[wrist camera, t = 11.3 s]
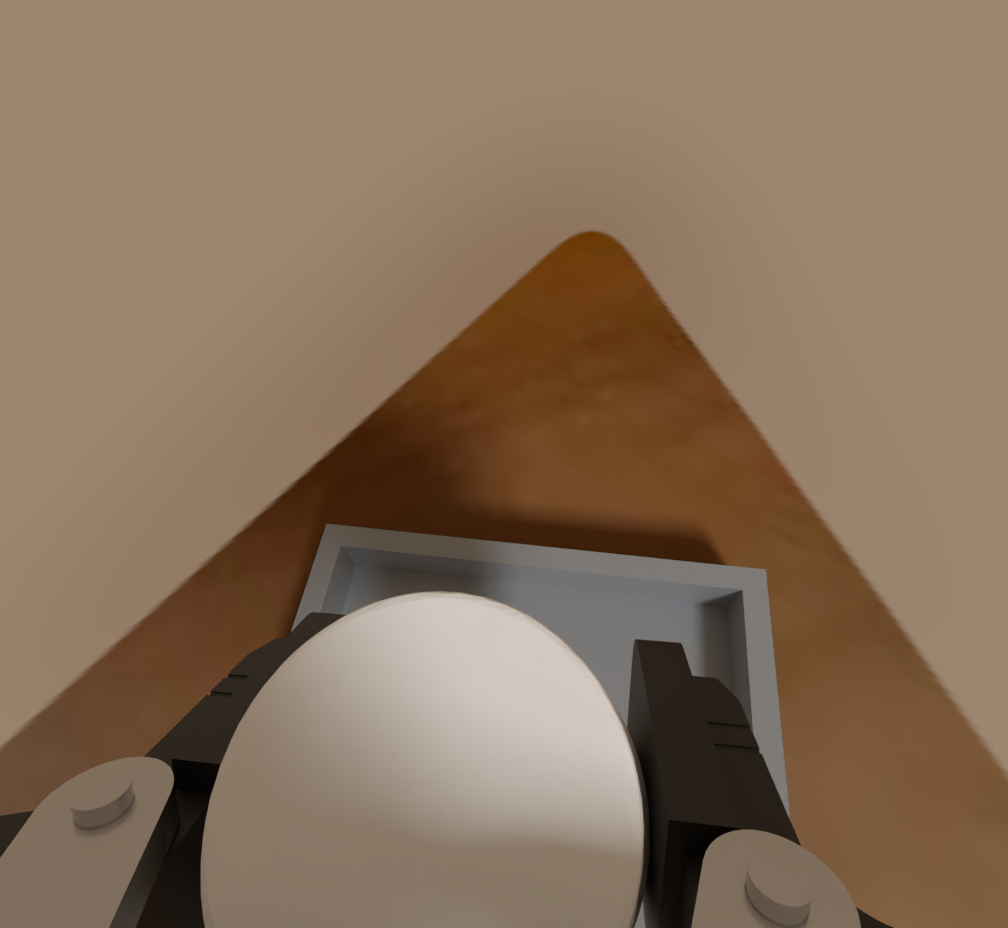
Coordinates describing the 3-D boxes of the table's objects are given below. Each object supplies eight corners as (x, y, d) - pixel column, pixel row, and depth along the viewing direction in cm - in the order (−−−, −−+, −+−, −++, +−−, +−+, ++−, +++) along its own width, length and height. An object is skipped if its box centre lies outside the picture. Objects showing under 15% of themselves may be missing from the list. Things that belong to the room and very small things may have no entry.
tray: (185, 1083, 15) (126, 1129, 13) (347, 549, 23) (326, 523, 21) (792, 1236, 13) (838, 1320, 11) (743, 593, 21) (765, 569, 19)
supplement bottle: (348, 793, 12) (70, 770, 5) (506, 646, 14) (453, 472, 7) (489, 1019, 10) (338, 1473, 3) (659, 818, 12) (814, 829, 5)
